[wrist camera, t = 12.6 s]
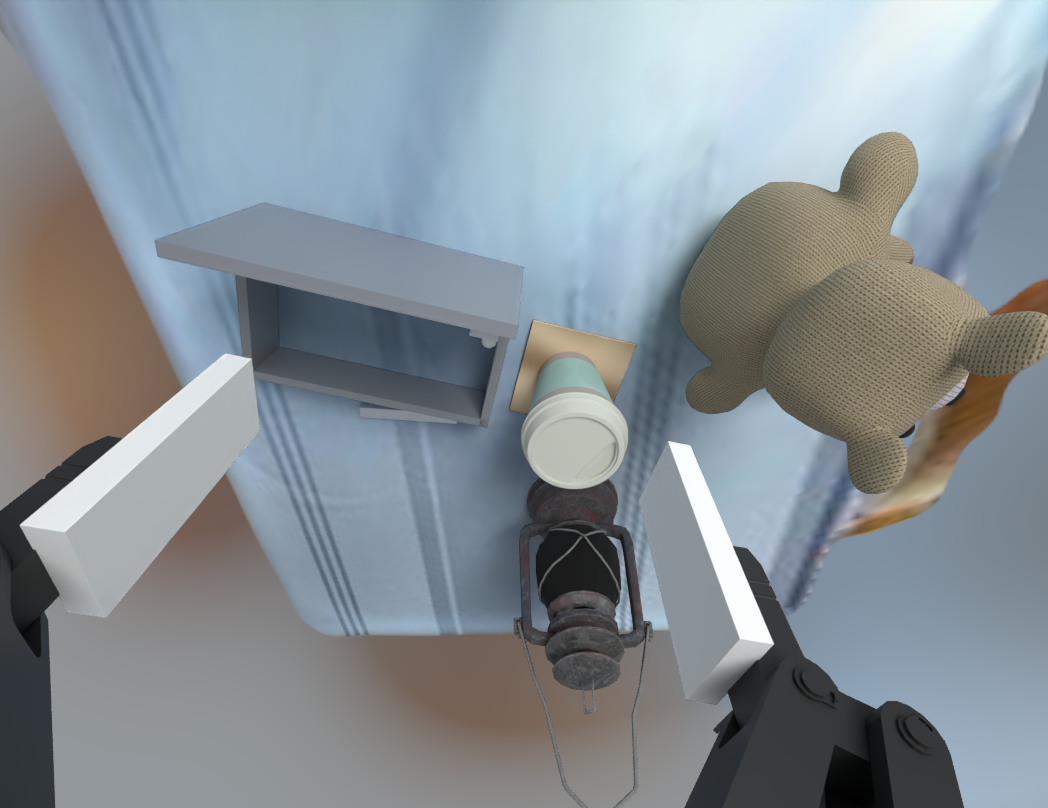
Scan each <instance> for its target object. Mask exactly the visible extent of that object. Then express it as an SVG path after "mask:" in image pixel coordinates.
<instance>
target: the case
mask: <svg viewBox="0 0 1048 808" xmlns="http://www.w3.org/2000/svg"><path fill="white" fill-rule="evenodd" d="M155 244H156V250H157V256H158V257H161V258H165V259H169V260H174V261H178V262H182V263H187V264H191V265H195V266H200V267H204V268H208V269H213V270H217V271H221V272H226V273H230V274H234V275H235V278H236V289H237V300H238V312H239V323H240V334H241V346H242V357H245V358H251V359H252V366H253V374H254V379H257V380H262V381H267V382H272V383H276V384H281V385H286V386H291V387H295V388H300V389H305V390H310V391H314V392H319V393H324V394H329V395H333V396H338V397H343V398H348V399H352V400H357V401H362V402H367V403H372V404H376V405H381V406H386V407H391V408H395V409H400V410H405V411H410V412H414V413H419V414H424V415H429V416H433V417H438V418H443V419H448V420H452V421H457V422H462V423H467V424H471V425H476V426H481V427H486V428H487V427H488V423H489V419H490V415H491V411H492V406H493V402H494V398H495V394H496V390H497V386H498V382H499V378H500V374H501V370H502V365H503V361H504V357H505V353H506V349H507V345H508V341H509V338H510V339H515V338H516V334H517V330H518V326H519V314H520V303H521V292H522V280H523V269H524V267H521V266H517V265H513V264H509V263H505V262H501V261H497V260H493V259H488V258H484V257H480V256H476V255H472V254H468V253H464V252H460V251H456V250H452V249H448V248H444V247H440V246H436V245H432V244H428V243H424V242H420V241H416V240H412V239H408V238H404V237H400V236H396V235H392V234H388V233H384V232H380V231H376V230H372V229H368V228H364V227H360V226H356V225H352V224H348V223H344V222H340V221H336V220H332V219H328V218H324V217H320V216H316V215H312V214H308V213H304V212H300V211H295V210H291V209H287V208H283V207H279V206H275V205H271V204H267V203H261V204H258V205H255V206H252V207H249V208H246V209H243V210H240V211H238V212H235V213H232V214H229V215H226V216H223V217H220V218H217V219H214V220H211V221H209V222H206V223H203V224H200V225H197V226H194V227H191V228H188V229H185V230H182V231H180V232H177V233H174V234H171V235H168V236H165V237H162V238H159V239H156V240H155ZM277 285H282V286H286V287H290V288H295V289H299V290H303V291H308V292H312V293H316V294H321V295H325V296H329V297H333V298H338V299H342V300H346V301H351V302H355V303H359V304H364V305H368V306H372V307H377V308H381V309H385V310H390V311H394V312H398V313H403V314H407V315H411V316H415V317H420V318H424V319H428V320H433V321H437V322H441V323H446V324H450V325H454V326H459V327H463V328H467V329H470V334H469V336H474V337H478V338H482V344H483V346H485V347H486V348H492V347H494V346H495V345H496V348H495V353H494V357H493V361H492V366H491V370H490V374H489V379H488V383H487V387H486V392H485V391H480V390H476V389H471V388H466V387H462V386H457V385H453V384H448V383H444V382H439V381H434V380H430V379H425V378H421V377H416V376H411V375H407V374H402V373H398V372H393V371H389V370H384V369H379V368H375V367H370V366H366V365H361V364H357V363H352V362H347V361H343V360H338V359H334V358H329V357H324V356H320V355H315V354H311V353H306V352H302V351H297V350H292V349H288V348H283V347H279V327H278V302H277ZM496 342H497V344H496Z"/></svg>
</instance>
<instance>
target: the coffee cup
mask: <svg viewBox="0 0 1048 808" xmlns="http://www.w3.org/2000/svg"><path fill="white" fill-rule="evenodd" d="M521 444H522V448H523V452H524V455H525V457H526V459H527V461H528V462H529V464H530V466H531V467H532V469H533V471H534V472H535V473H536V474H537V475H538V476H539V477H540V478H541V479H543V480H544V481H546V482H548V483H549V484H552V485H554V486H557V487H561V488H566V489H583V488H588V487H592V486H595V485H598V484H600V483H602V482H603V481H605V480H607V479H608V478H609V477H611V476H612V475H613V474H614V473H615V472H616V471H617V469H618V468H619V466H620V465H621V462H622V460H623V457H624V455H625V452H626V450H627V445H628V427H627V423H626V421H625V418H624V417H623V415H622V413H621V412H620V411H619V410H618V408H617V407H616V406H614V404H613V402H612V400H611V398H610V395H609V393H608V391H607V389H606V387H605V385H604V383H603V381H602V379H601V376H600V374H599V372H598V370H597V368H596V366H595V364H594V363H593V362H592V361H591V360H590V359H589V358H588V357H587V356H585V355H583V354H581V353H577V352H561V353H558V354H556V355H554V356H552V357H550V358H549V359H548V360H547V361H546V362H545V363H544V364H543V366H542V367H541V370H540V373H539V376H538V380H537V384H536V388H535V392H534V396H533V400H532V404H531V408H530V411H529V414H528V416H527V417H526V419H525V421H524V423H523V426H522V430H521Z"/></svg>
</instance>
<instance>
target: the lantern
mask: <svg viewBox="0 0 1048 808" xmlns="http://www.w3.org/2000/svg"><path fill="white" fill-rule="evenodd" d="M527 504H528V510H529V512H530V517H531V519H532V520H533V522H534V523H532V524H528V525H525V526H524V527H523V529H522V530H521V534H520V539H519V553H520V581H521V610H522V617H521V618H514V634H515V635H518V637H519V638H521V639H522V643H523V646H524V650H525V654H526V657H527V661H528V664H529V668H530V671H531V675H532V678H533V681H534V684H535V686H536V689H537V691H538V694H539V696H540V698H541V701H542V703H543V706H544V710H545V714H546V719H547V723H548V727H549V731H550V735H551V739H552V744H553V748H554V752H555V756H556V760H557V764H558V768H559V773H560V777H561V781H562V785H563V787H564V789H565V790H566V792H567V793H568V794H569V795H570V796H571V797H572V798H573V799H574V800H575V801H576V802H577V803H578V804H579V805H580V807H581V808H588V807H587V806H585V804H584V803H583V802H582V801H581V800H580V799H579V798H578V797H577V796H576V795H575V794H574V793H573V792H572V791H571V790H570V788H569V787H568V785H567V784H566V780H565V776H564V772H563V768H562V764H561V760H560V756H559V752H558V748H557V744H556V740H555V736H554V732H553V728H552V723H551V719H550V716H549V711H548V707H547V704H546V701H545V699H544V696H543V694H542V692H541V689H540V687H539V684H538V682H537V680H536V677H535V673H534V670H533V666H532V663H531V659H530V656H529V652H528V648H527V645H526V641H525V639H526V640H527V641H529V642H530V643H531V644H535V645H541V646H546V647H545V652H546V656H547V658H548V660H549V661H550V662H551V663H552V664H554V667H553V669H552V672H553V675H554V679H556V680H557V681H558V682H559V683H560V684H561V685H564V686H566V687H569V688H572V689H577V690H582V697H583V712H584V714H589V713H592V712H594V711H595V710H596V705H595V694H594V690H596V689H600V688H603V687H606V686H609V685H610V684H612V683H613V682H615V681H617V679H618V677H619V676H620V674H621V672H620V665H619V664H618V662H620V660H621V658H622V657H623V655H624V653H625V652H624V648H630V647H636V646H637V645H639V644H640V643H641V642H642V641H643V640H644V638H645V644H644V652H643V660H642V667H641V675H640V683H639V688H638V692H637V696H636V700H635V704H634V708H633V712H632V736H633V737H632V738H633V766H634V787H633V790H632V791H631V792H630V793H629V794H627V795H626V796H625V797H624V798H623V799H622V800H621V801H620V802H619V803H618V804H617V805H616V806H615V807H614V808H621V807H622V806H623V805H624V804H625V803H626V802H628V801H629V800H630V799H631V798H632V797H633V796H634V795H635V794H636V793H637V789H638V765H637V743H636V742H637V741H636V713H637V709H638V704H639V700H640V696H641V692H642V688H643V681H644V673H645V664H646V656H647V648H648V642H651V638H652V637H653V629H652V623H651V622H650V621H643V614H642V607H641V599H640V592H639V585H638V577H637V570H636V562H635V555H634V547H633V542H632V539H631V536H630V533H629V532H628V531H627V529H626V528H624V527H621V526H618V525H613V519H614V517H615V515H616V512H617V505H618V499H617V493H616V490H615V488H614V485H613V484H612V483H611V482H610V481H609V480H608V479H607V480H605V481H603V482H602V483H600V484H598V485H595V486H592V487H588V488H583V489H566V488H561V487H557V486H554V485H552V484H549V483H548V482H546V481H544V480H543V479H541V478H539V479H538V480H537V481H536V482H535V483H534V484H533V486H532V488H531V489H530V491H529V494H528V499H527ZM536 535H541V536H542V537H543V538H544V541H543V542H542V544H541V545H540V546H539V549H538V552H537V555H536V575H537V584H538V589H539V590H538V595H539V600H540V601H541V602H542V603H543V604H544V605H545V606H546V608H547V609H548V611H547V613H548V617H549V620H550V624H549V627H548V632H541V631H538V630H537V629H535V628H533V627H532V620H531V600H530V568H529V538H530V537H533V536H536ZM607 536H610V537H613V538H616V539H619V540H620V541H621V544H622V548H623V554H624V561H625V569H626V576H627V584H628V591H629V599H630V606H631V613H632V621H633V631H632V632H631V633H629V634H621V635H619V632H618V626H617V622H616V621H615V620H614V617H615V615H616V613H615V608H616V607H617V605H618V604H619V603H620V591H621V577H620V566H619V559H618V554H617V548H616V547H615V545H614V544H613V543H612V542H611V540H610V539H609V538H608V537H607ZM541 598H542V599H541ZM617 599H618V602H617ZM616 602H617V603H616ZM615 604H616V605H615ZM516 624H517V625H516ZM586 690H592V697H593V709H592V710H589V711H586V709H585V697H584V691H586Z"/></svg>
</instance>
